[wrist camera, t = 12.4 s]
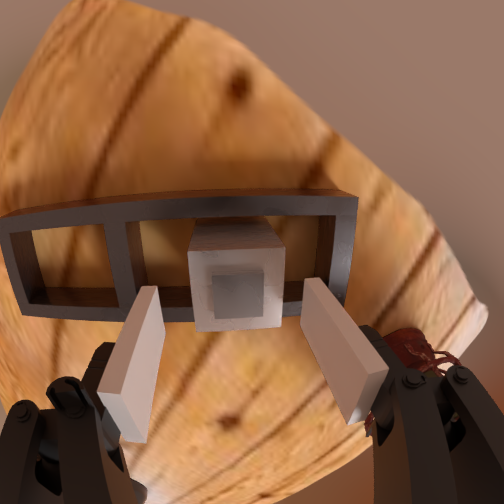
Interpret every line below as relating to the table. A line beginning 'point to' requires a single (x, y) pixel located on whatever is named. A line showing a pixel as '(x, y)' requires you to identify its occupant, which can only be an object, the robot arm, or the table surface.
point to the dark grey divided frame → (131, 253)
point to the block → (236, 273)
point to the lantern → (415, 357)
